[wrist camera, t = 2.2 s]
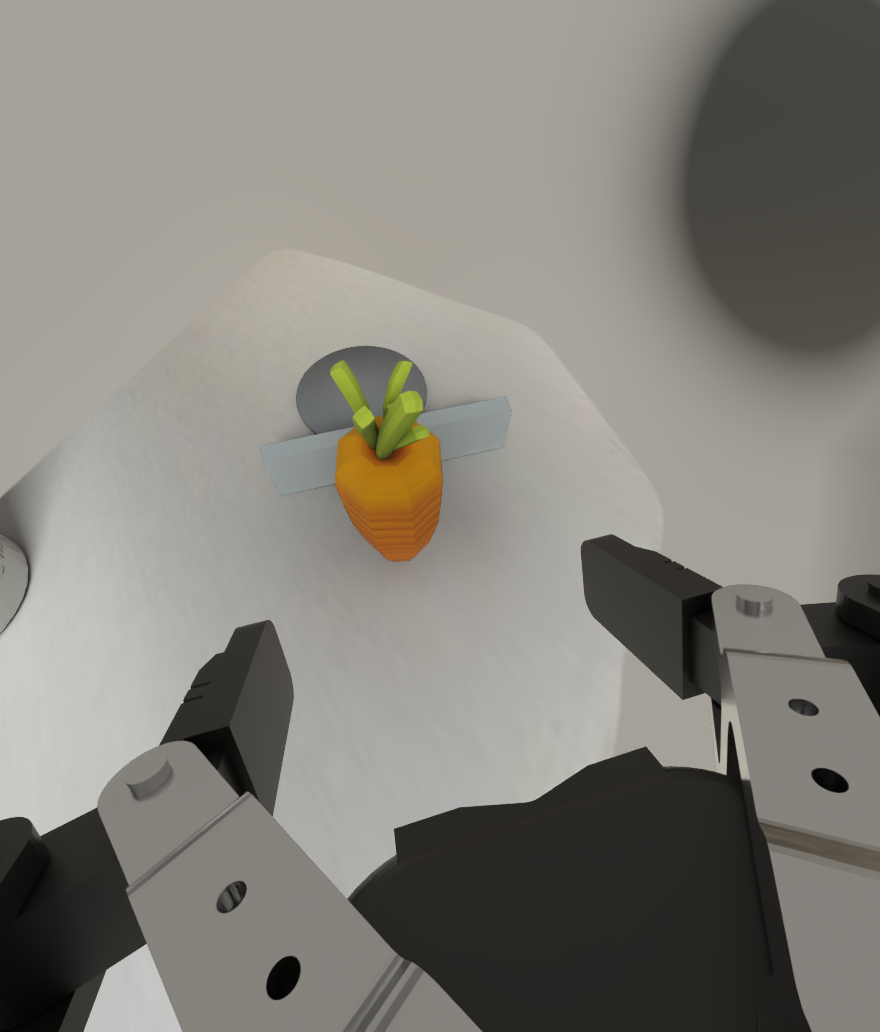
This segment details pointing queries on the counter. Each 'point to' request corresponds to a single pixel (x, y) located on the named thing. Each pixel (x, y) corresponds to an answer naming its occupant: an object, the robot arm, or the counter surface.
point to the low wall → (455, 427)
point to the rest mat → (372, 370)
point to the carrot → (389, 467)
